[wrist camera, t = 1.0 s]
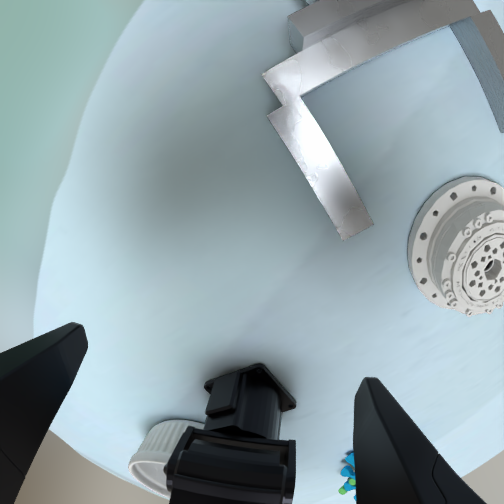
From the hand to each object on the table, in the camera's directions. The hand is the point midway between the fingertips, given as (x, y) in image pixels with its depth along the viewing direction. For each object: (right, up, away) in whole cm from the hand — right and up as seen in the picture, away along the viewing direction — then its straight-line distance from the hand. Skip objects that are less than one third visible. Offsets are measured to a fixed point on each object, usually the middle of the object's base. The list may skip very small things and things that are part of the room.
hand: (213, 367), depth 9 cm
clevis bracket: (+9, +14, +7) cm, 18 cm away
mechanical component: (+17, +4, +11) cm, 20 cm away
